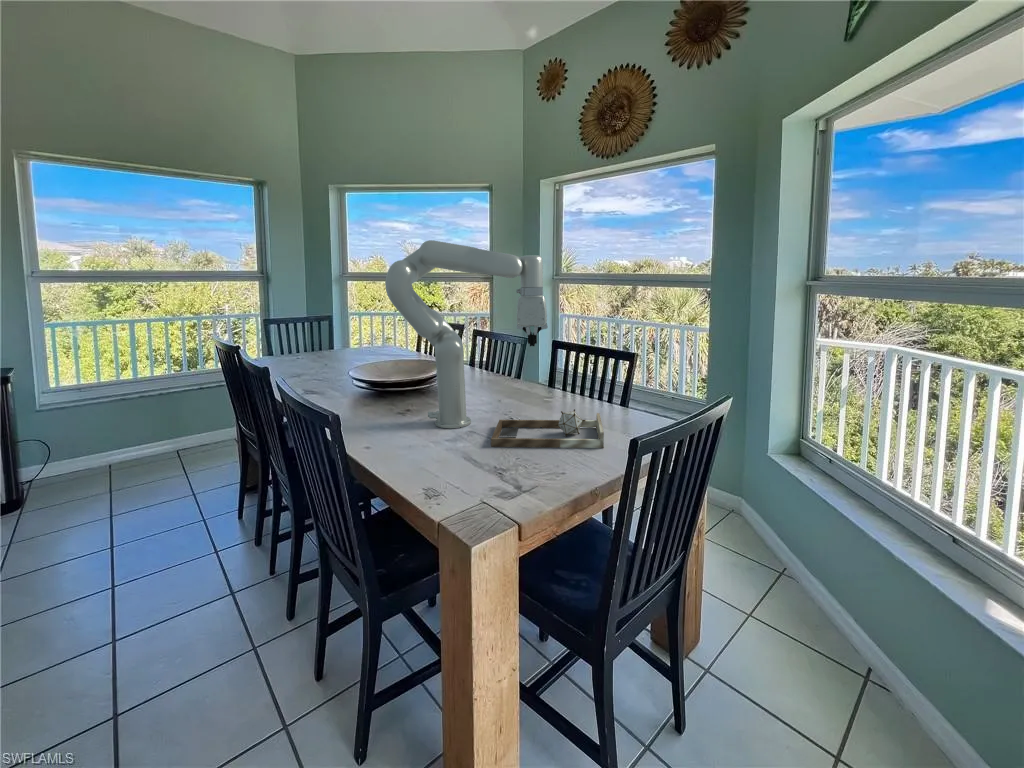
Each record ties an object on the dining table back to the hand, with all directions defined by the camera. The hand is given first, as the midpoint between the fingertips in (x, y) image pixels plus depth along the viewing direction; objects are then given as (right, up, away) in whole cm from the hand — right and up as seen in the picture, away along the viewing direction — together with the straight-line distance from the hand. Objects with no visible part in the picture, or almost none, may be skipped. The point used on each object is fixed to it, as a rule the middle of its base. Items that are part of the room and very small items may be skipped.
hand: (532, 345), depth 175 cm
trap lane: (+4, -30, -14) cm, 34 cm away
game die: (+12, -30, -12) cm, 34 cm away
